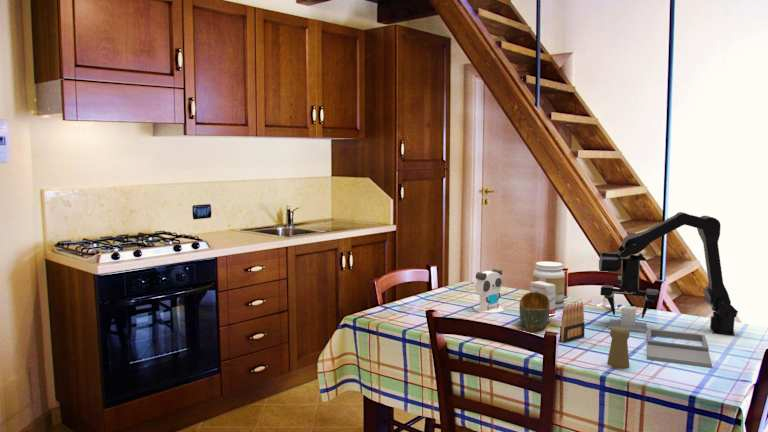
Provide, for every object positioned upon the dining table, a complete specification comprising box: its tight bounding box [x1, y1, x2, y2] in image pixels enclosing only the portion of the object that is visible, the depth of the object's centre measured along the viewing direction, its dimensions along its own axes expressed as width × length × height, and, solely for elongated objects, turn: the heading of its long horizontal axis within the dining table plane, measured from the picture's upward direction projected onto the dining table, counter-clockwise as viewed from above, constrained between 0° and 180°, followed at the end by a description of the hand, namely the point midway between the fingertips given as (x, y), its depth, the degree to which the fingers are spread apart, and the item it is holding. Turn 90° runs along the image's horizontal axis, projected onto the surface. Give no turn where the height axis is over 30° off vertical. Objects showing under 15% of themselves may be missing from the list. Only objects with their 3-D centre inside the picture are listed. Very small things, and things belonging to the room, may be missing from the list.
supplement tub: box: [532, 261, 566, 310], centre depth 247 cm, size 12×12×17 cm
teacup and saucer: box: [596, 296, 619, 310], centre depth 247 cm, size 9×8×4 cm
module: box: [620, 307, 637, 328], centre depth 219 cm, size 4×7×5 cm, turn 157°
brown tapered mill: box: [606, 327, 630, 370], centre depth 179 cm, size 6×6×11 cm
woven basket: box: [519, 291, 550, 332], centre depth 219 cm, size 13×20×10 cm, turn 136°
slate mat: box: [608, 318, 647, 334], centre depth 219 cm, size 12×12×1 cm
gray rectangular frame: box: [646, 328, 713, 368], centre depth 194 cm, size 17×28×2 cm, turn 157°
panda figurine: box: [473, 268, 505, 314], centre depth 240 cm, size 12×11×15 cm
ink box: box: [529, 281, 556, 314], centre depth 234 cm, size 9×5×12 cm, turn 33°
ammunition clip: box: [559, 301, 586, 344], centre depth 203 cm, size 11×2×12 cm, turn 127°
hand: (628, 316), depth 219 cm, fingers open, 9 cm apart
